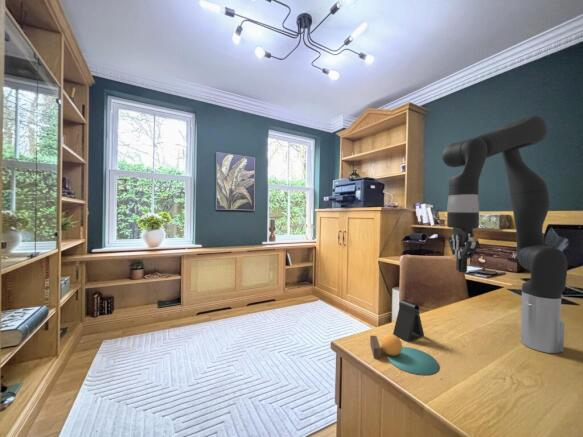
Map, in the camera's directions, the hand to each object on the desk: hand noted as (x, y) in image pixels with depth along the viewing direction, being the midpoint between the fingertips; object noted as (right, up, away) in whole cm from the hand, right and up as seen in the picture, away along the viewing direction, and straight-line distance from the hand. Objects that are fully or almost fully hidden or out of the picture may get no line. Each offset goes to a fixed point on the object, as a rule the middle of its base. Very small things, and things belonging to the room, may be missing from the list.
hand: (461, 271), depth 72 cm
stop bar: (-22, -27, +8) cm, 36 cm away
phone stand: (-7, -27, +18) cm, 33 cm away
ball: (-18, -24, +6) cm, 30 cm away
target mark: (-13, -27, +3) cm, 30 cm away
